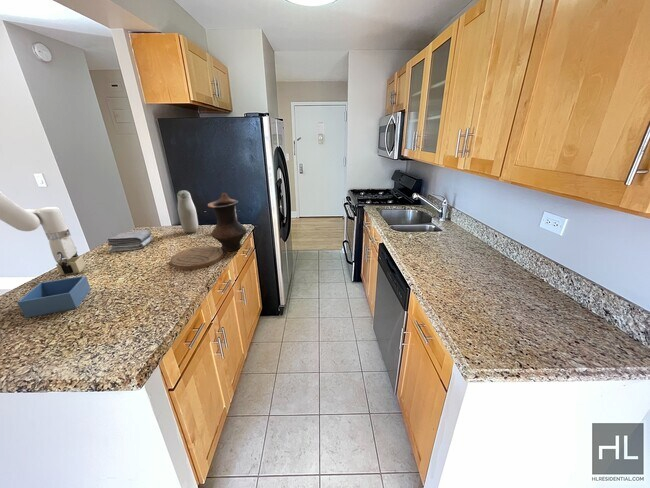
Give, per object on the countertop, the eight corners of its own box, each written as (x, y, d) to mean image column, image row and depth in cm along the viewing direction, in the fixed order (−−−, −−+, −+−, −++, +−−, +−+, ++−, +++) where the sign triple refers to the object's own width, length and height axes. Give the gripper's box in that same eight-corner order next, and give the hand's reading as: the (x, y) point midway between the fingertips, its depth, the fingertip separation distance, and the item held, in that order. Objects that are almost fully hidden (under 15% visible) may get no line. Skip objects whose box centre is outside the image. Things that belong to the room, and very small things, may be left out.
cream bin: (60, 275, 119) (55, 264, 117) (67, 269, 125) (63, 258, 123) (79, 272, 122) (75, 262, 120) (85, 266, 128) (81, 256, 126)
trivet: (193, 247, 149) (192, 244, 149) (232, 250, 145) (232, 247, 144) (159, 267, 127) (158, 263, 126) (204, 271, 122) (203, 268, 121)
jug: (249, 252, 142) (242, 198, 131) (213, 256, 137) (202, 201, 126) (248, 239, 161) (242, 191, 150) (216, 242, 156) (207, 193, 145)
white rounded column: (180, 232, 173) (170, 190, 163) (194, 228, 181) (186, 188, 170) (188, 235, 168) (178, 192, 157) (202, 231, 176) (194, 189, 165)
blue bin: (25, 318, 91) (16, 302, 88) (46, 297, 103) (39, 282, 101) (76, 308, 96) (69, 293, 94) (91, 289, 108) (85, 275, 106)
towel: (144, 249, 147) (141, 236, 144) (107, 252, 143) (102, 239, 140) (154, 239, 161) (150, 228, 158) (120, 242, 157) (116, 230, 154)
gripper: (57, 229, 123) (71, 263, 129) (36, 242, 108) (53, 279, 114) (77, 227, 125) (90, 260, 132) (59, 239, 110) (75, 275, 117)
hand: (73, 269), depth 123 cm, fingers open, 7 cm apart
